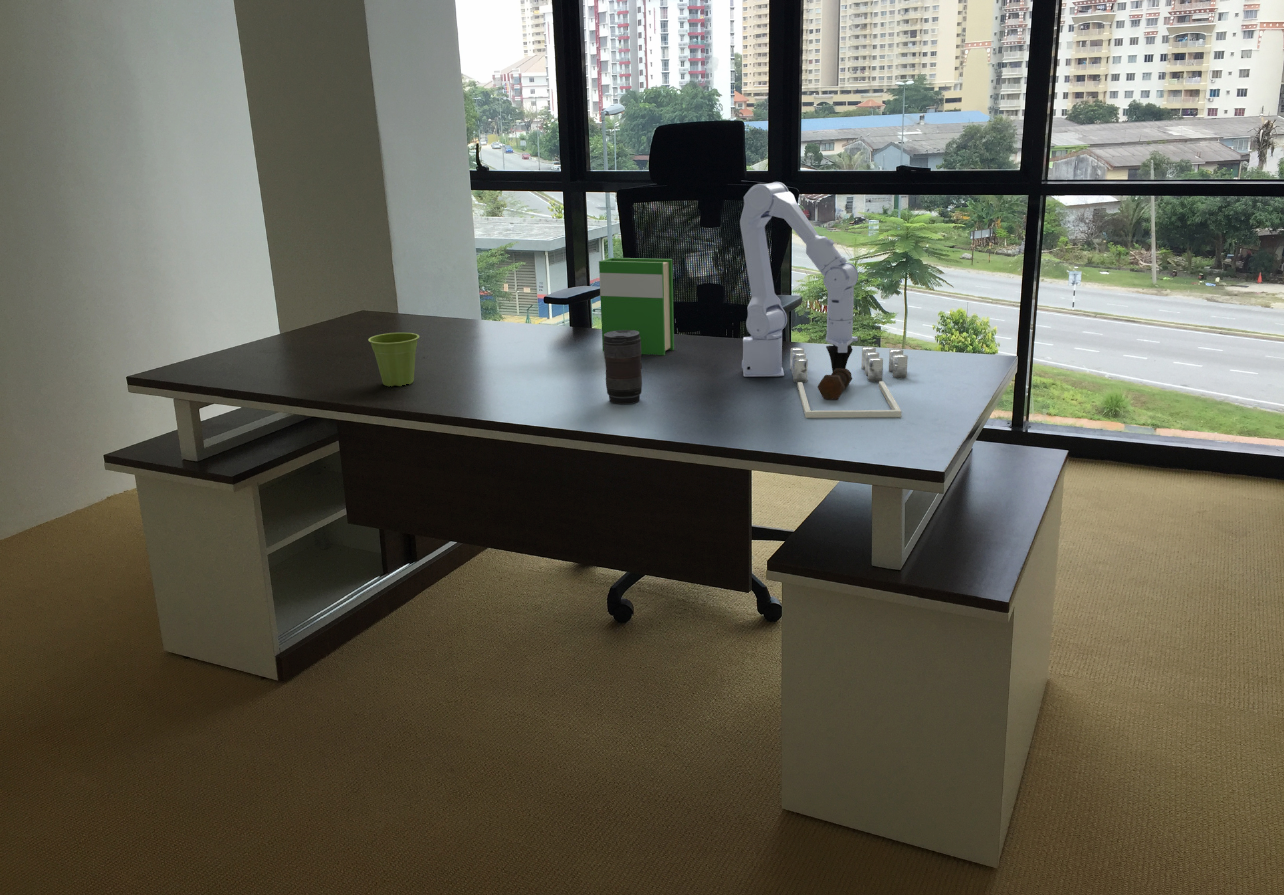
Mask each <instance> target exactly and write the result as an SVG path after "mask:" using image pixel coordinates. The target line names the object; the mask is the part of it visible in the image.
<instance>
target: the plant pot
mask: <svg viewBox="0 0 1284 895" xmlns="http://www.w3.org/2000/svg"><path fill="white" fill-rule="evenodd" d="M419 338H420V335H419V334H417V333H413V332H389V333H383V334H377V335H374V336H371V337H369V338H368V342H369V343H370V345H371V348H372V351H373V353H374V356H375V359H376V364H377V366H378V370H379V373H380V377H381V381H382V384H383V385H384V386H385V387H386V386H387V387H390V386H391V387H394V386H397V387H403V386H402V385H405V386H407V385H406V384H409V385H411V384H413V382H414V381H415V366H416V365H415V364H416V352H417V347H418V339H419Z"/></svg>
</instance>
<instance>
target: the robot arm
mask: <svg viewBox="0 0 1284 895" xmlns="http://www.w3.org/2000/svg"><path fill="white" fill-rule="evenodd" d="M743 203H744V204H743V209H742V212H741V216H740V219H739V226H740V232H741V233H740V234H741V239H742V245H743V250H744V251H743V252H744V256H745V263H746V270H747V276H748V281H749V289H750V294H751V299H750V300H749V303H748V305H747V318H746V322H745V325H746V330H747V332H748V334H750V336H743V338H742V360H741V368H742V371H743V372H742V374H743V375H742V376H743V377H745V378H746V377H748V378H749V377H784V376H785V373H784V369H783V367H782V363H783V361H782V360H783V357H782V356H783V347H782V346H783V329H784V328H786V326H787V323H788V315H787V312H786V311H785V309H784V308H783V306H782V300H781V299H780V298H779V296H777V294H776V292H775V287H774V280H773V279H774V278H773V275H772V268H771V261H770V252H769V249H768V248H769V247H768V242H767V234H766V229H765V228H766V225H767V224H768V222H769V221H770V220H771V219H772V217H776V218H780V219H784V221H786V223H787V224H788V226H790V227H791V229H792V230H793V231H794V233H796V235H797V236H798V237H799V238H800V240H802V242H803V243H804V244H805V254H806V256H807V257H808V258H809V259H810V260H811V262H812V264H814V266H815V267H816V269H817V270H818V271H819V273H820V274H821V275H822V276H824V277H823V279H822V280H823V285H824V287H825V288H826V290H827V306H826V307H827V311H826V313H827V314H826V315H827V316H826V318H827V319H826V336H825V342H826V343H828V344H831V345H826V346H825V348H826V351H827V353H828V355H829V358H830V359H829V360H830V364H831V370H832V373H833V371H834V370H835V369H836V368H845V369H847V364H848V361H849V358H850V356H851V355H852V354H853V353H852V352H853V347H852V345H851V343H853V342H858V336H853V332H854V331H853V326H854V292H855V286H856V284H857V283H858V281H859V272H858V269H857V268H856V265H854V263H851V262H848V260H847V259H846V257H843V256H842V255H841V254H840V253H839V251H838V250H837V249H836V247H835V242H834V240H833V239H832V238H830V239H829V238H828V237H827V236H823V235H819V234H818V232H817V230H816V229H815V228H814V226H813V225H812V223H811V222H810V220H809V218H808V217H807V216H806V214H805V213H804V211H803V210H802V209H801V207H800V205H799V204H798V203H797V201H796V198H795V195H794V194H793V193H792V192H791V191H789V188H788V186H786V185H785V183H783V182H780V181H773V182H769V183H757V184H754V185H753V186H751V187H750V188H749V189H748V191H747V192H746V193H745V195H744V196H743Z"/></svg>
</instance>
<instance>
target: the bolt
mask: <svg viewBox="0 0 1284 895" xmlns="http://www.w3.org/2000/svg"><path fill="white" fill-rule="evenodd" d="M852 380H853V376H852V372H851V371H850V370H849V369H848V368H836V369H835V370H834V371H833V372H832V373H831V374H825V375H824V376H822V378H821V380H820V382H819V383H818V385H817V390H818V391H819V393H820V395H821V397H822V398H823V399H824V400H832V401H833V400H836V401H837V400H839V398H840V397H841V396H842V394H843V392H844V391H845V389H847V388H848V386H849V385H850V383H851V382H852Z"/></svg>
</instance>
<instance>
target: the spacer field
mask: <svg viewBox="0 0 1284 895" xmlns="http://www.w3.org/2000/svg"><path fill="white" fill-rule="evenodd" d="M876 351H877V349H876V347H875V346H863V347H862V348H861V369H862V370H864V375H865V374H866V375H865V376H867V380H869V381H868V382H870V383H871V382H872V383H879V381H883V372H884V371H883V369H884V358H882V357H880V353H879V352H878V351H877V352H876ZM908 357H909V356H908V355H907V354H904V349H901V348H891V349H889V355H888V372H889V373H892V376H893V377H892V378H893V379H898V378H903V379H907V376H908V359H909V358H908ZM789 360H790V365H789V366H790V367H789V369H790V370H791V376H792V378H793V382H794V383H797V384H798V382H802V383H807V382H808V368H809V367H808V366H809V362H808V361H809V360H808V359H807V354H806V353H805V348H804V347H791V348H790V359H789Z"/></svg>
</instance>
